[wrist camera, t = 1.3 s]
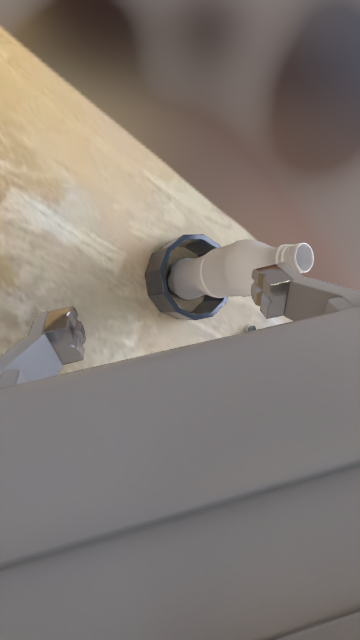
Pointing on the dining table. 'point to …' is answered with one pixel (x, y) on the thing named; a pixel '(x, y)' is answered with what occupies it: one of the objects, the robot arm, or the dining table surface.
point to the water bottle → (233, 268)
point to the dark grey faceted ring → (159, 285)
